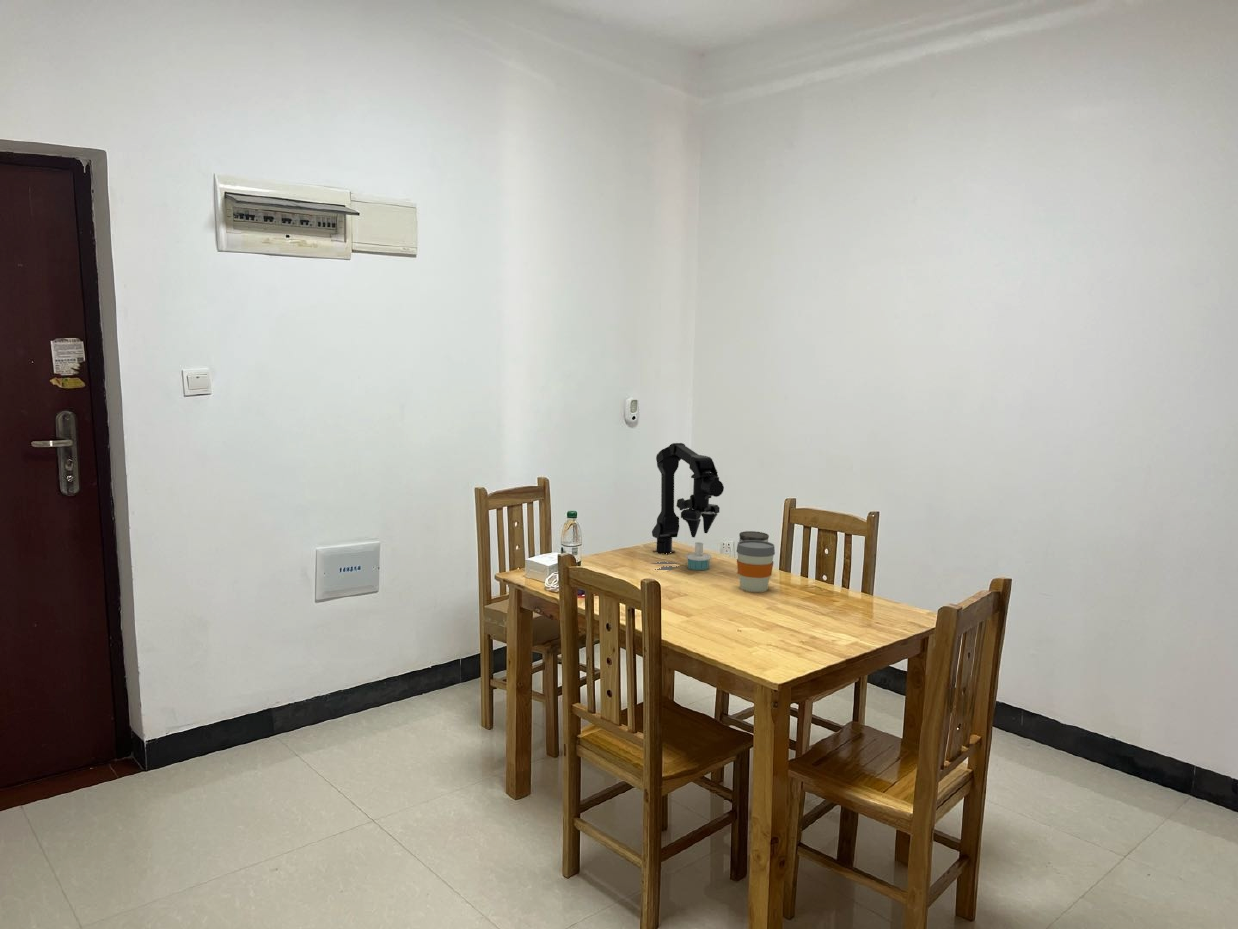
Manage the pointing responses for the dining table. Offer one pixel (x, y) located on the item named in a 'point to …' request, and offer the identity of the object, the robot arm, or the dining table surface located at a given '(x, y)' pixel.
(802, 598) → the dining table surface
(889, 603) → the dining table surface
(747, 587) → the reusable coffee cup
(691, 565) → the bowl
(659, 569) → the mat
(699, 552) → the lid
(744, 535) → the coffee can
